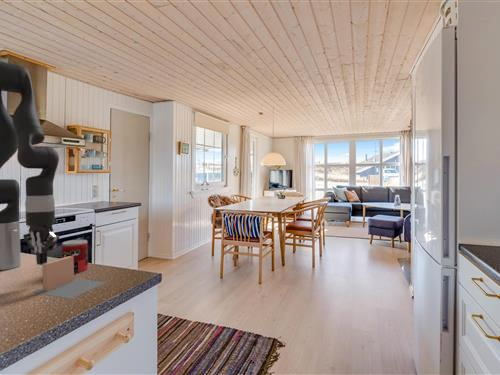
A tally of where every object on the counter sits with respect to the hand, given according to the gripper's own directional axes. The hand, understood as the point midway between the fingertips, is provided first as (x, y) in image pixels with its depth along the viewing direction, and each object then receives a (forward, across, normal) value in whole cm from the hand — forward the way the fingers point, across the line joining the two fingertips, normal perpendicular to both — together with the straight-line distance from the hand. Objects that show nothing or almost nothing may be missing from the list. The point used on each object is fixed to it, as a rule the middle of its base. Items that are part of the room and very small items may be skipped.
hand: (42, 264), depth 94 cm
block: (+6, +7, 0) cm, 9 cm away
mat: (+7, +11, 0) cm, 13 cm away
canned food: (+7, -1, +13) cm, 15 cm away
